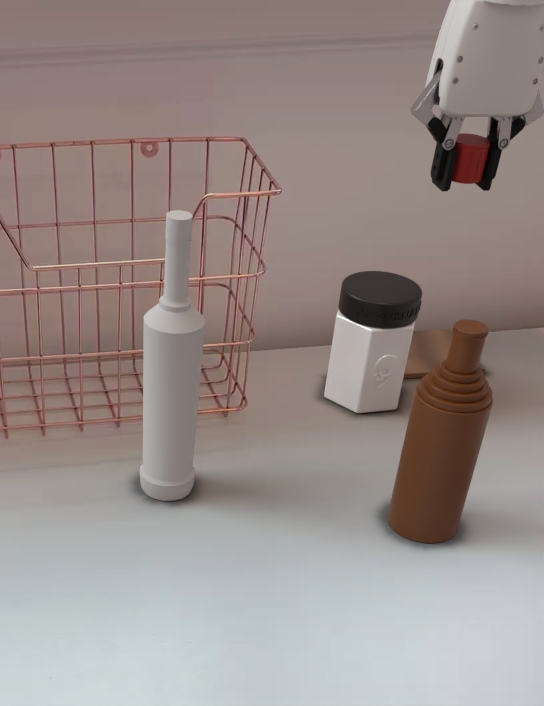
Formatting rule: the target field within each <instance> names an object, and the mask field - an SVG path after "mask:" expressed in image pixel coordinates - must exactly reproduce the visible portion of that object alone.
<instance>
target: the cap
mask: <svg viewBox="0 0 544 706" xmlns="http://www.w3.org/2000/svg"><path fill="white" fill-rule="evenodd" d="M489 146H490V140H489V139H487V138H486V137H485V136H483V135H479V134H476V133H475V134H474V133H468V132H467V133H466V132H465V133H463V132H461V133H460V132H459V134H458V137H457V140H456V142H455V146H454V149H455V150H457V151H458V156H457V160H456V164H455V169H454V173H453V178H452V182H454V183H458V184H464V185H465V184H466V185H472V184H475V183H478V182H480V181H481V179H482V175H483V171H484V167H485V163H486V159H487V155H488V151H489Z"/></svg>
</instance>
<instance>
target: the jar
mask: <svg viewBox="0 0 544 706" xmlns="http://www.w3.org/2000/svg"><path fill="white" fill-rule="evenodd" d="M338 298H339V300H338V310H337V313H336V316H335V321H334V328H333V334H332V341H331V348H330V354H329V361H328V365H327V372H326V373H327V374H326V380H325V386H324V393H323V396H324V398H325V399H327V400H328V401H330V402H333V403H335V404H336V405H339V406H341V407H343V408H345V409H347V410H349V411H351V412H353V413H354V414H355V413H356V414H367V413H376V412H386V411H395V410H397V408H398V406H399V401H400V396H401V393H402V388H403V383H404V380H405V379H404V374H405V369H406V364H407V360H408V355H409V350H410V345H411V341H412V336H413V331H415V326H416V321H417V319H418V318H419V317H418V316H419V313H420V311H421V306H422V302H423V301H422V298H423V290H422V287H421V286H420V285H419V284H418V283H417V282H416V281H414V280H413V279H411V278H409V277H406V276H404V275H401V274H398V273H394V272H389V271H382V270H364V271H357V272H354V273H352V274H349V275H347V276H346V277H345V278H344V279H343V280H342V282H341V287H340V293H339V297H338Z"/></svg>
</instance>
